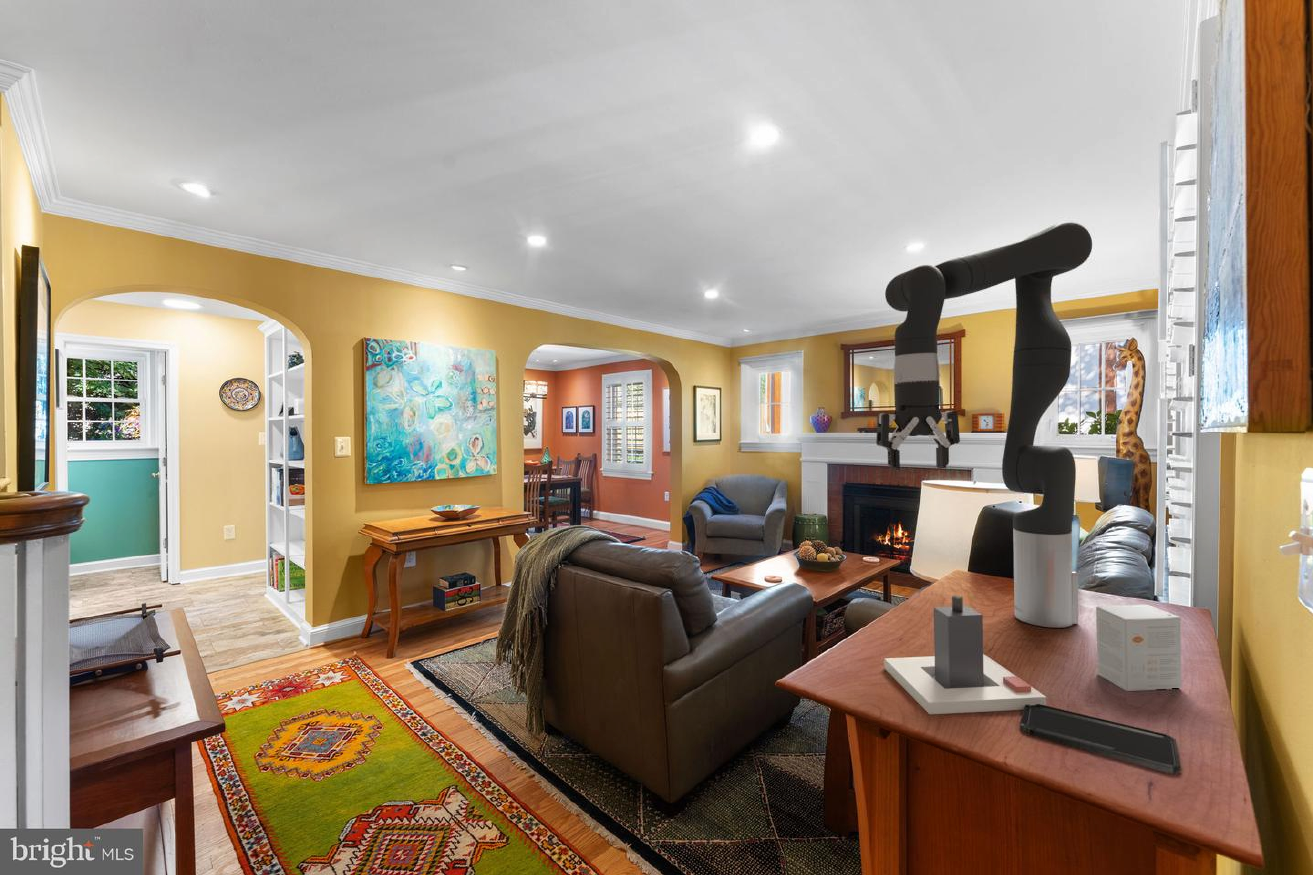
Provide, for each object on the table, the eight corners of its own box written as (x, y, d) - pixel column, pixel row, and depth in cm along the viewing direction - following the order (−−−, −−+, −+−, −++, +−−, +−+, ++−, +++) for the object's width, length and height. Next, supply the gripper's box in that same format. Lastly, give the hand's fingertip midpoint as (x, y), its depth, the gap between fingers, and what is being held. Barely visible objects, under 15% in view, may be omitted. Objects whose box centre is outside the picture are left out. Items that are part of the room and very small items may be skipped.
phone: (1026, 700, 77) (1175, 736, 67) (1026, 709, 77) (1175, 745, 68) (1018, 726, 71) (1181, 769, 61) (1019, 735, 71) (1181, 779, 61)
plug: (967, 677, 85) (966, 592, 85) (983, 690, 81) (982, 600, 81) (935, 679, 85) (933, 593, 84) (949, 692, 81) (947, 602, 80)
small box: (1148, 672, 85) (1148, 603, 85) (1182, 690, 80) (1182, 616, 79) (1095, 674, 85) (1094, 605, 85) (1125, 691, 80) (1125, 618, 80)
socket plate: (983, 663, 90) (983, 648, 90) (1046, 708, 76) (1046, 690, 76) (884, 668, 90) (884, 653, 90) (929, 714, 76) (929, 696, 76)
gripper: (944, 380, 106) (945, 465, 107) (869, 382, 106) (871, 468, 107) (966, 377, 99) (968, 469, 100) (886, 380, 99) (888, 472, 99)
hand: (918, 469), depth 103 cm, fingers open, 8 cm apart
